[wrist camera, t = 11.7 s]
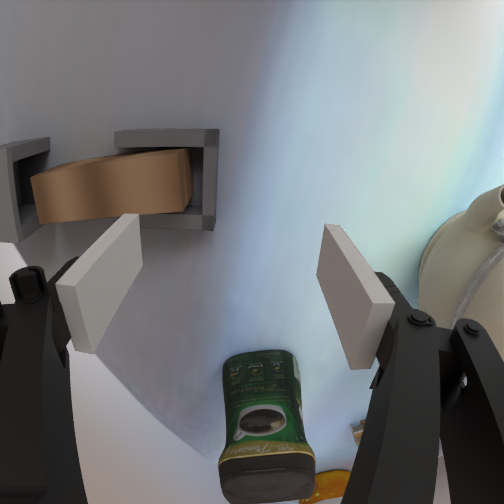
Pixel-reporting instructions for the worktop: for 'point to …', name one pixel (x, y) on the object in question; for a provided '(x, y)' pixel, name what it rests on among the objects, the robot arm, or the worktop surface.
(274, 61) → the worktop surface
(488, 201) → the kettle
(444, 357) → the robot arm
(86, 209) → the walnut rail
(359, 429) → the architectural model
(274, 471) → the coffee jar
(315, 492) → the bucket of meat
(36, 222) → the roofed end cap
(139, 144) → the open end cap
